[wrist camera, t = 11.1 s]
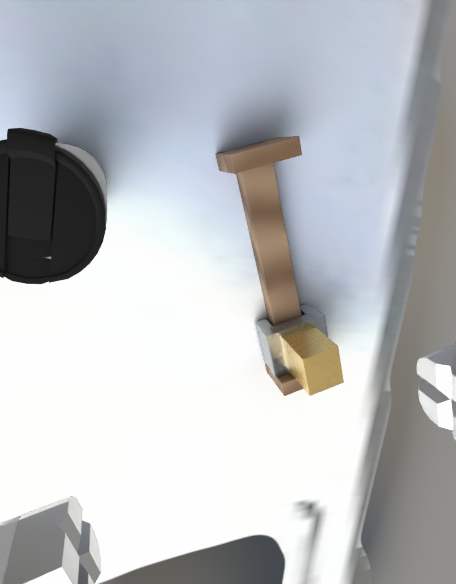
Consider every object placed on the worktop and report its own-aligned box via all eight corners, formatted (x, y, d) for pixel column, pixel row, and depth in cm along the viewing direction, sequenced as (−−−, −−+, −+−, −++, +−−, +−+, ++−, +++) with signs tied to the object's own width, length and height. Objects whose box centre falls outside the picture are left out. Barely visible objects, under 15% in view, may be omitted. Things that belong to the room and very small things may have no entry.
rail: (215, 154, 37) (230, 154, 33) (275, 137, 38) (299, 136, 34) (266, 371, 46) (284, 395, 42) (314, 353, 47) (336, 375, 43)
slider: (254, 322, 44) (286, 360, 36) (308, 303, 45) (351, 335, 37) (263, 361, 45) (296, 405, 38) (315, 342, 47) (357, 381, 39)
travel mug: (110, 148, 35) (116, 147, 17) (102, 225, 37) (99, 300, 18) (29, 131, 33) (-64, 109, 15) (24, 214, 35) (-65, 285, 16)
